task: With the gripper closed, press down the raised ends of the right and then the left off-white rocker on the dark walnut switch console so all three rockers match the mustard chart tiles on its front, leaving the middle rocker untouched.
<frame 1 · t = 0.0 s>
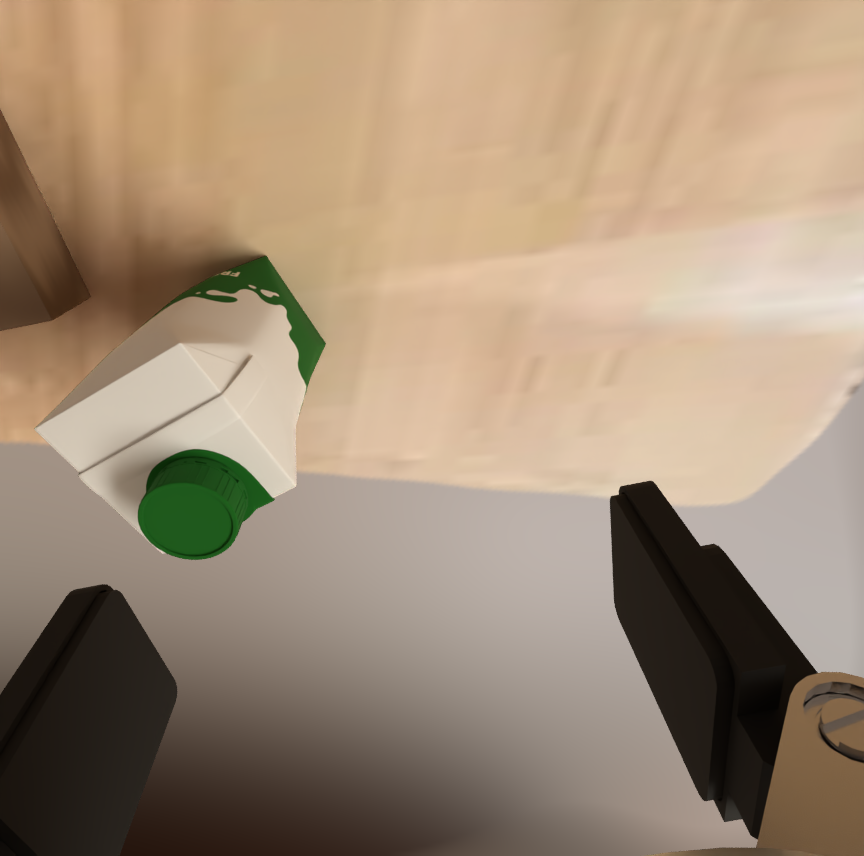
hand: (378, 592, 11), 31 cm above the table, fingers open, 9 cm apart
milk carton: (256, 323, 40), on the table
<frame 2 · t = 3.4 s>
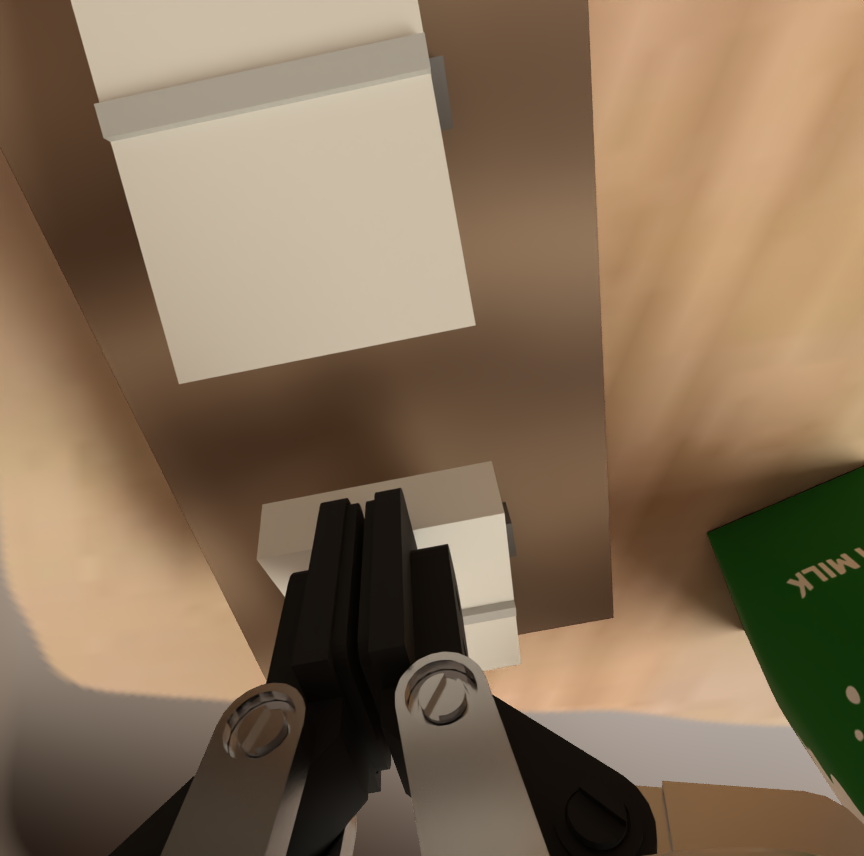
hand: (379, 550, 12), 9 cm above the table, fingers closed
console: (324, 121, 16), on the table
rocker C: (413, 600, 15), point 7 cm above the table, hinge at 17.9°, touching gripper
milk carton: (799, 549, 25), on the table
rocker B: (275, 104, 10), point 7 cm above the table, hinge at -18.0°
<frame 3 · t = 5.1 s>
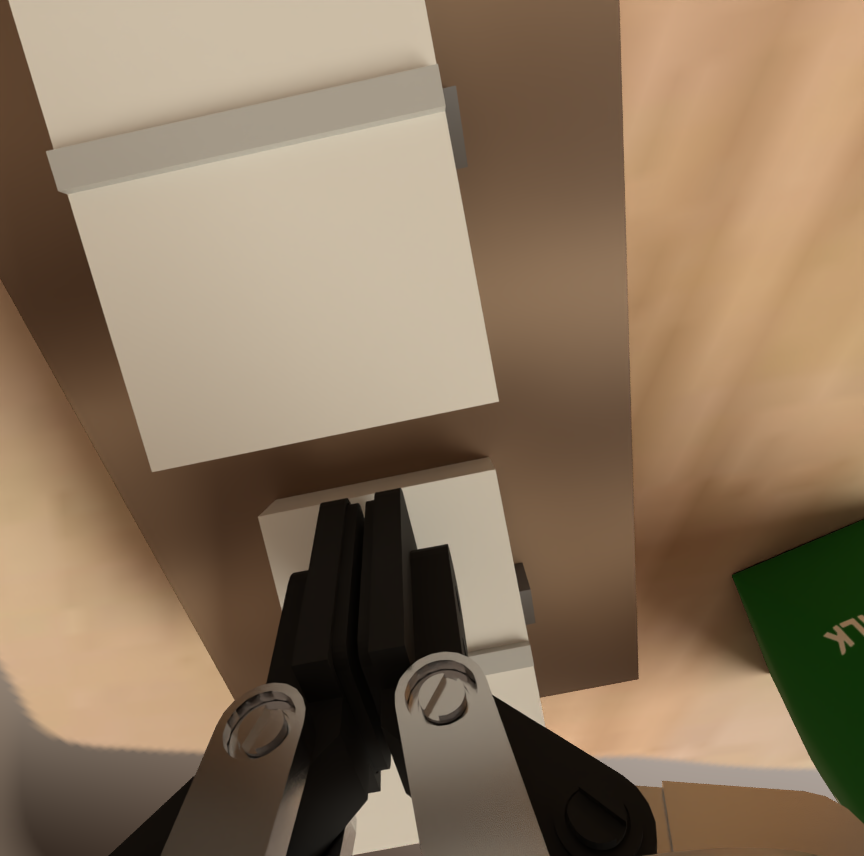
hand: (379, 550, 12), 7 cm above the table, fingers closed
console: (320, 150, 15), on the table
rocker C: (416, 658, 13), point 7 cm above the table, hinge at -20.6°, touching gripper
milk carton: (829, 589, 24), on the table
rocker B: (262, 147, 8), point 7 cm above the table, hinge at -18.0°
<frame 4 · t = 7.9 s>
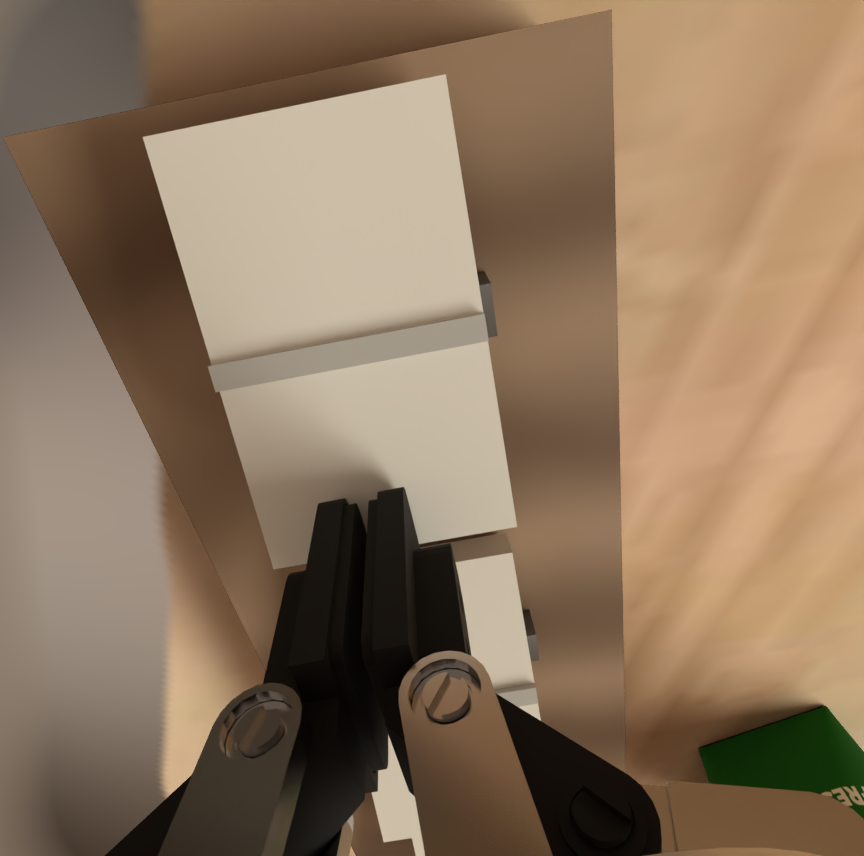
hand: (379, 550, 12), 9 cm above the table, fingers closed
console: (432, 537, 23), on the table
milk carton: (771, 754, 33), on the table
rocker A: (352, 347, 11), point 7 cm above the table, hinge at -12.4°, touching gripper
rocker B: (443, 691, 17), point 7 cm above the table, hinge at -18.0°
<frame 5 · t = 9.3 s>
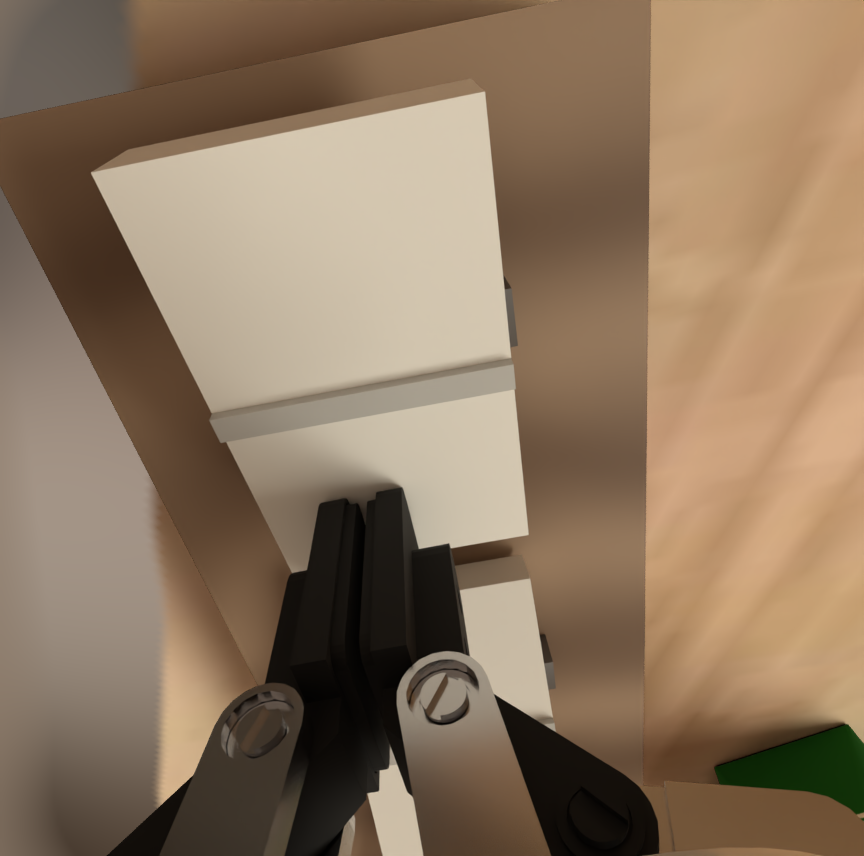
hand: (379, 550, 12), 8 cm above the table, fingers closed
console: (440, 552, 22), on the table
milk carton: (789, 773, 31), on the table
rocker A: (364, 379, 10), point 7 cm above the table, hinge at 7.7°, touching gripper
rocker B: (454, 724, 16), point 7 cm above the table, hinge at -18.0°
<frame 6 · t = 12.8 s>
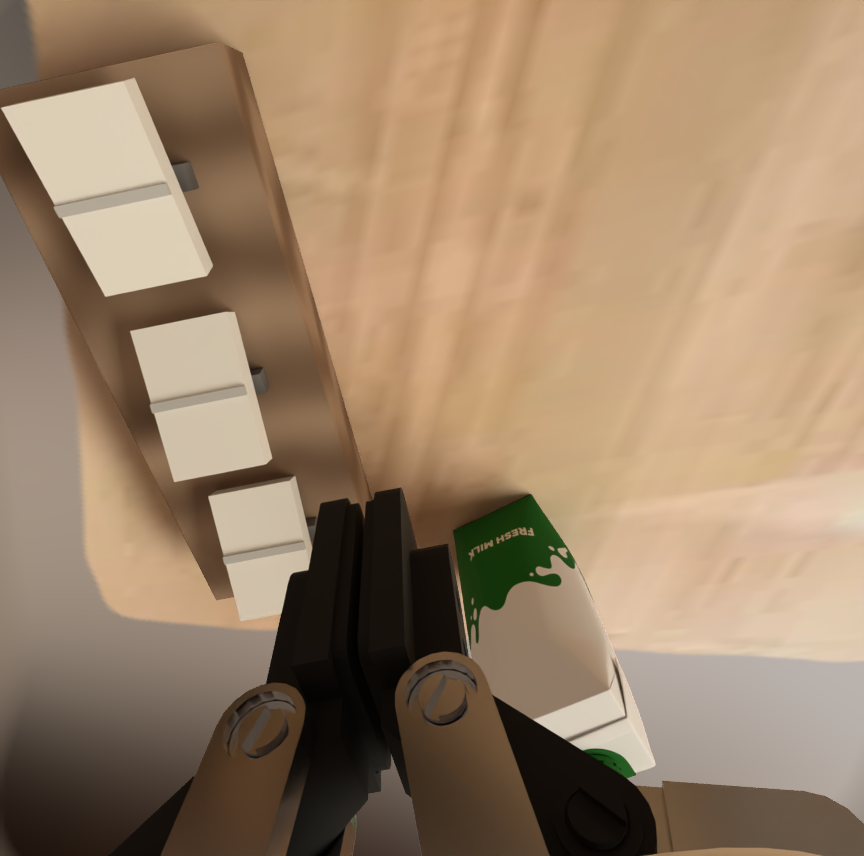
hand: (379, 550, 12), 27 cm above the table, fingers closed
console: (236, 355, 38), on the table
rocker C: (267, 548, 37), point 7 cm above the table, hinge at -20.5°
milk carton: (509, 539, 47), on the table
rocker A: (118, 196, 26), point 7 cm above the table, hinge at 7.9°
rocker B: (203, 397, 31), point 7 cm above the table, hinge at -18.0°
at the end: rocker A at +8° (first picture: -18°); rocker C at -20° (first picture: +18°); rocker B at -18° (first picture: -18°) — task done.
